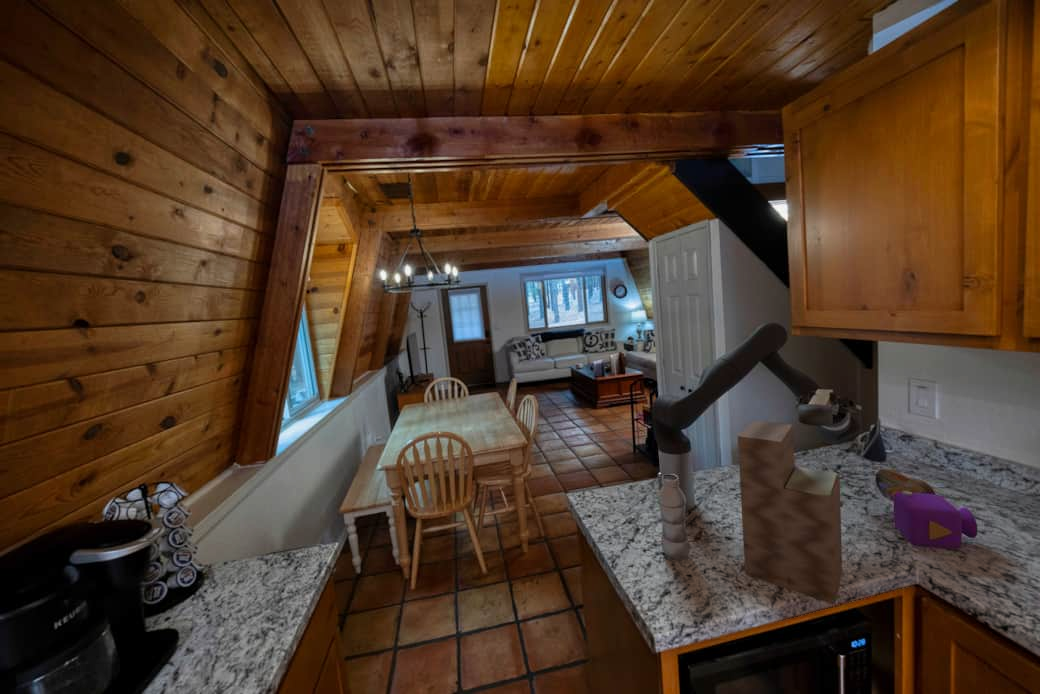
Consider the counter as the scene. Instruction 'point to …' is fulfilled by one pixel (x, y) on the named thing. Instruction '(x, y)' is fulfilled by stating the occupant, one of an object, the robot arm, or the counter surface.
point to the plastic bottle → (673, 518)
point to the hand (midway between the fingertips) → (822, 395)
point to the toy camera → (932, 520)
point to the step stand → (788, 515)
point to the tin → (900, 483)
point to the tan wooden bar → (817, 410)
